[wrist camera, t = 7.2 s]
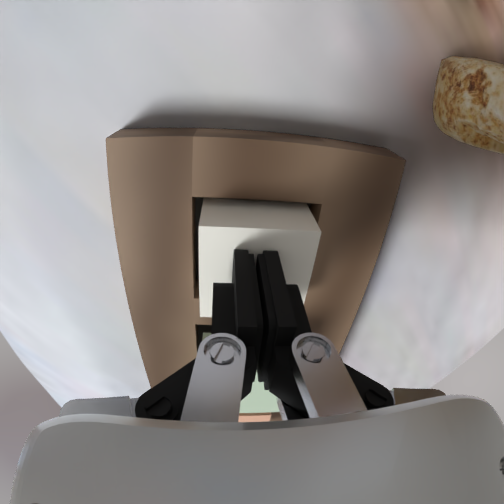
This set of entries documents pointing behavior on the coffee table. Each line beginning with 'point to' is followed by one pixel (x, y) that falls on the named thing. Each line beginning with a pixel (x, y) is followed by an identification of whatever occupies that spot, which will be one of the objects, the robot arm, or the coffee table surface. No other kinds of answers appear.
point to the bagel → (471, 102)
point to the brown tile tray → (249, 188)
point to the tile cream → (254, 240)
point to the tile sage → (256, 397)
